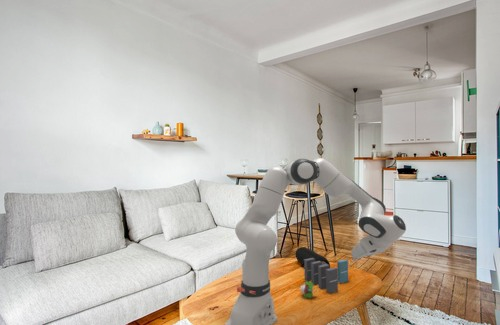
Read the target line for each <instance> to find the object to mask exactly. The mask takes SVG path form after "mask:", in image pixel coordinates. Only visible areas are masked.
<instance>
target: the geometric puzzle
mask: <svg viewBox="0 0 500 325" xmlns="http://www.w3.org/2000/svg"><path fill="white" fill-rule="evenodd" d="M299 289H300V291H301V293H303V295H302V296H303V297H305V298H309V299H312V298H313V297H314V295H315V294H314V293H317V289H316V288H315V287H314V285H313V283H311V281H306V280H304V284H301V286H300V287H299ZM313 294H314V295H313Z"/></svg>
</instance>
